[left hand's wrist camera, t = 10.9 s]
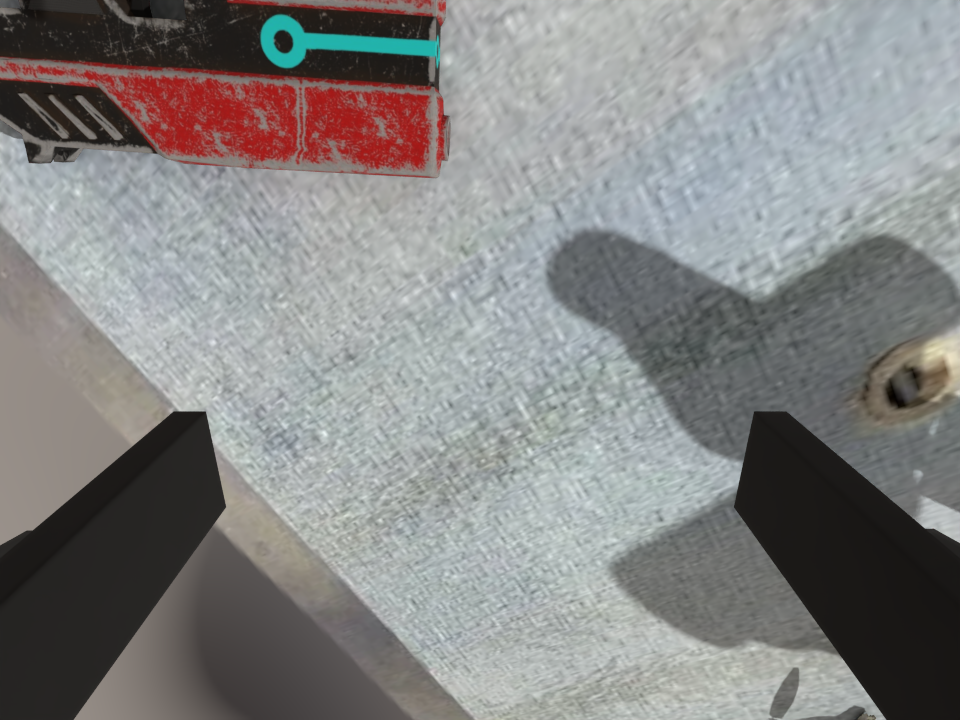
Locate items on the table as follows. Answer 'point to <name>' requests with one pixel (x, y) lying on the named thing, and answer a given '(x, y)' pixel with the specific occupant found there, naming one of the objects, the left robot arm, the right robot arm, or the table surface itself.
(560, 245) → the table surface
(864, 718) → the bow
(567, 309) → the table surface
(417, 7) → the gun
